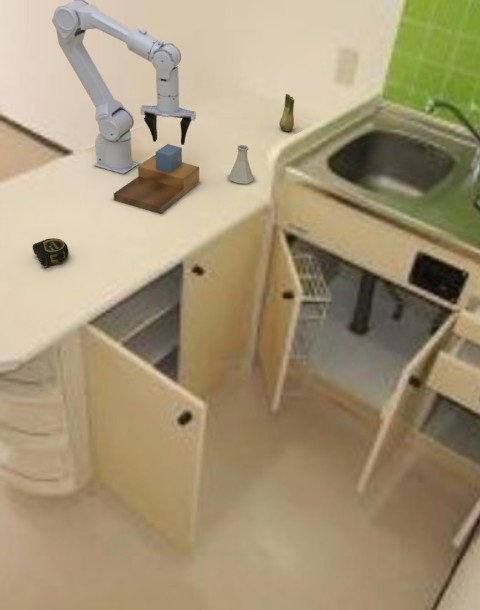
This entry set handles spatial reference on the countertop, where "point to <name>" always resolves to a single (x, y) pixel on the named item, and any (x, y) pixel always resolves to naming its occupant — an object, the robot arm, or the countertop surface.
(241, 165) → the flask
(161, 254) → the countertop surface
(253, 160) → the countertop surface
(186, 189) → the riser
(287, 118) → the fennel bulb
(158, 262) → the countertop surface
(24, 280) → the countertop surface
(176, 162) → the blue box
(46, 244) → the tape measure
